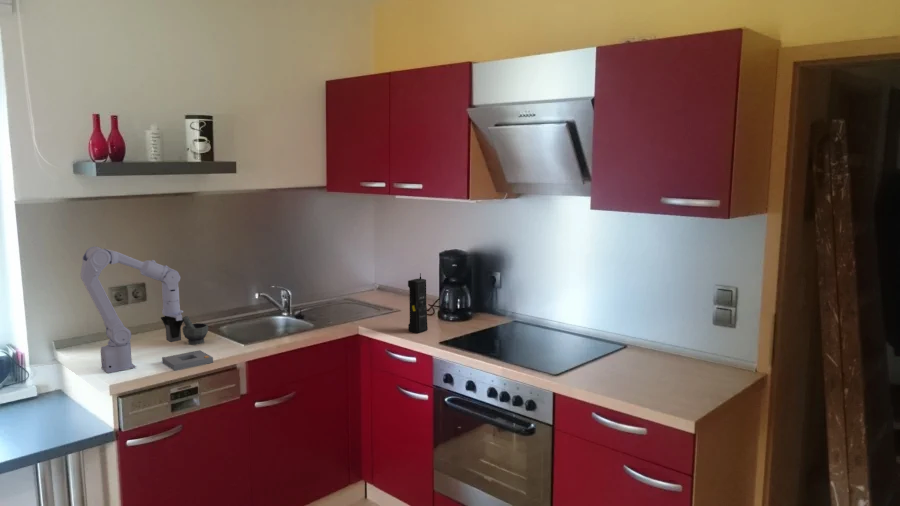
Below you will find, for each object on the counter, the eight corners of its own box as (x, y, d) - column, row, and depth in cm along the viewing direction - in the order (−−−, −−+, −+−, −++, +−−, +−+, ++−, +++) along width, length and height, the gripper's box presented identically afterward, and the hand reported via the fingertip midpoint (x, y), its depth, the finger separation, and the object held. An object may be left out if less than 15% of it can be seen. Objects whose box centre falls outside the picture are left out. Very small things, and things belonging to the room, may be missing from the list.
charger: (170, 342, 243) (169, 323, 242) (166, 340, 246) (165, 321, 245) (181, 340, 246) (180, 321, 245) (177, 338, 249) (176, 320, 248)
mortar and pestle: (196, 338, 274) (194, 310, 272) (213, 340, 270) (212, 312, 269) (175, 345, 264) (173, 316, 262) (193, 347, 260) (192, 318, 258)
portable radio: (417, 334, 281) (416, 276, 277) (406, 332, 284) (406, 275, 281) (428, 330, 287) (428, 274, 283) (418, 328, 291) (417, 272, 287)
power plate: (174, 370, 232) (173, 364, 232) (162, 362, 241) (161, 356, 241) (213, 362, 242) (212, 356, 241) (200, 355, 250) (199, 349, 250)
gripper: (189, 302, 241) (191, 337, 243) (174, 295, 252) (176, 330, 254) (170, 304, 237) (172, 341, 239) (155, 298, 247) (157, 333, 249)
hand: (173, 336), depth 246 cm, fingers closed on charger, 4 cm apart
